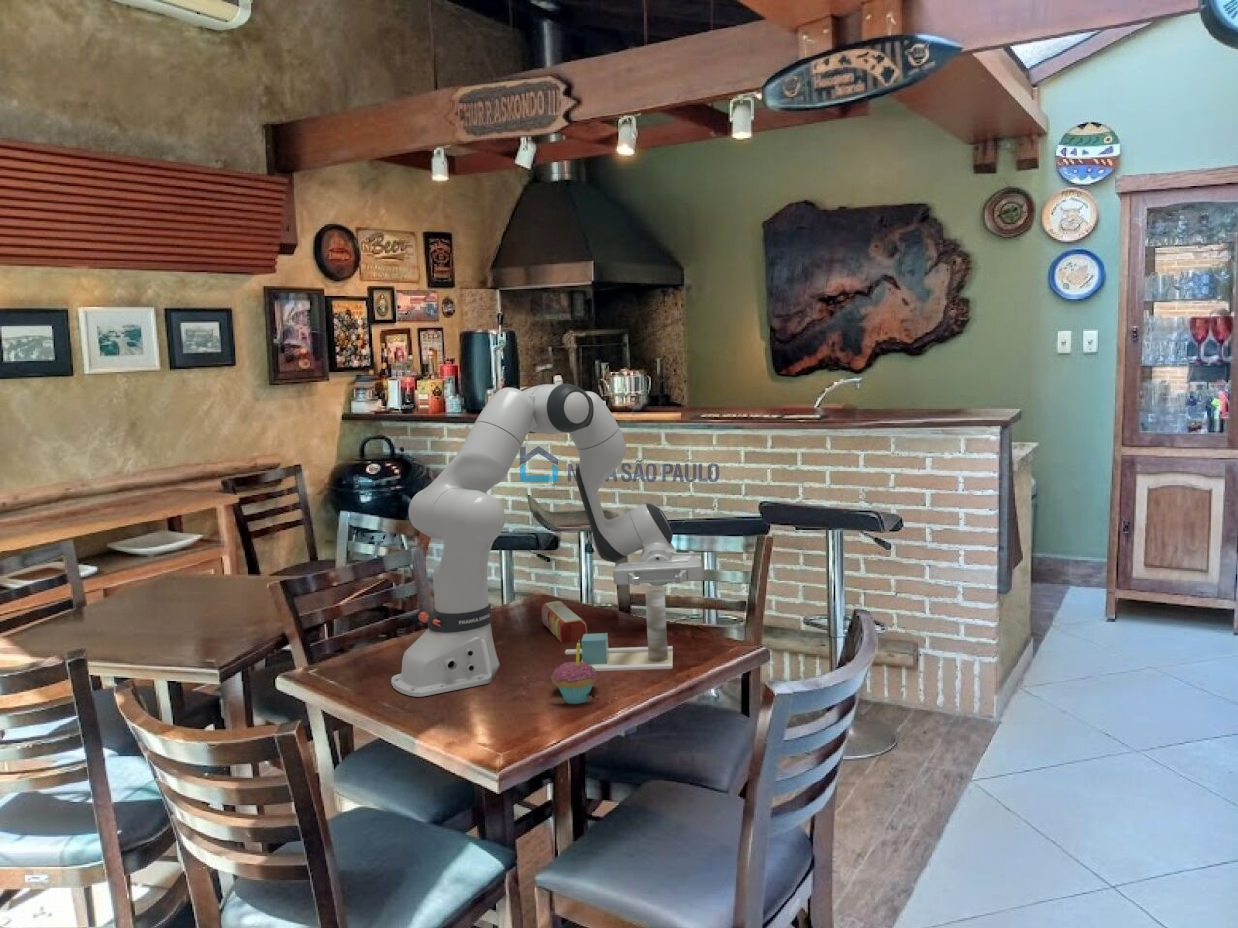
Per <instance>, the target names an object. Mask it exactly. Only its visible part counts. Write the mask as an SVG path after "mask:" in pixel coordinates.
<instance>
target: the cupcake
mask: <svg viewBox="0 0 1238 928" xmlns="http://www.w3.org/2000/svg"><path fill="white" fill-rule="evenodd" d="M575 649H576V654H575V661H568V662H563V663H562V664H560V665H559V666H558V667H556V668H555V669H554V670H553V672H552V674H551V676H550V679H551V682H552V684H553V685H554V686H555V687H557V688H558V690H559V692H560V694H561V696H562V697H561V698H562V700H563V701H564V703H566V704H570V705H578V704H583V703H585V702H587V701H588V700H589V699H590V692H591V691H592V688H593V686H594V684H595V682H596V681H597V676H598V675H597V671H595V669H594V668H593V667H592V666H591V665H590V664H586V663H585V662H581V661H580V649H581V643H580V640H579V641H577V643H576V648H575Z"/></svg>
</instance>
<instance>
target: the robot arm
mask: <svg viewBox="0 0 1238 928" xmlns="http://www.w3.org/2000/svg"><path fill="white" fill-rule="evenodd" d="M564 433H565V434H569V436H570V437H571V440H572V441H573V443H574V446H575V447H576V450H577V452H578V456H579V465H577V467H576V468H575V479H576V484H577V488H578V491H579V492H578V493H579V494H580V497H581V498H580V500H581V501H582V502H581V503H582V505H583V508H584V512H585V514H586V517H587V520H588V523H589V527H590V530H591V533H592V541H593V546H594V550H595V551H596V552H597V554H598V556H599V557H600V559H601V560H604V561H606V562H609V563H614V564H615V563H618V562H619V563H618V564H616V565H615V566H614V568H613V569H612V576H613V584H614V585H617V586H619V585H622V586H623V585H624V586H625V585H632V586H640V585H641V584H644V585H645V584H648V585H651V586H654V587H663V586H666V585H668V584H673V583H675V584H682V583H683V582H700V581H702V580H703V579H704V577H703V575H704V574H703V564H702V562H701V560H700V558H698V557H697V556H696V554H695V551H692V550H681V549H675V547H674V544H673V543H672V542H673V535H674V534H673V530H672V527H671V525H670V523H669V520H668V518H667V516H666V514H665V513H664V512H663V511H662V509H661V508H660V507H658V506H656V505H655V504H652V503H647V502H646V503H644V504H642V505H640V506H638V507H635V508H632V509H631V510H629V511H627V512H625V513H623V514H621V515H618V516H615V517H614V518H611V519H607V518H606V517H605V514H604V511H603V508H602V504H601V501H600V498H599V494H598V493H599V489H600V488H601V487H602V485H603V484H604V483H605V482H606V480H608V478H609V477H610V476H611V475H612V474H613V473H614V472H615V471H616V470H618V468H619V467H620V466H621V464H622V462H623V460H624V458H625V456H626V449H627V443H626V441H625V438H624V435H623V432H622V430H621V428H620V426H619V424H618V422H617V421H616V419H615V417H614V415H613V414H612V412H611V411H610V409H609V407H608V406H607V405H606V403H605V402H604V401H603V399H602V398H601V397H600V395H599V394H597V393H596V392H593V391H589V390H588V391H587V390H586V391H585V390H584V389H583V388H581V387H579V386H577V385H574V384H571V383H562V384H556V383H555V384H550V383H545V384H544V383H543V384H539V385H535V386H527V387H524V388H522V389H518V388H515V387H509V386H508V387H503V388H500V389H499V390H497V391H496V392H495V393H494V394H493V396H492V397H491V398H490V399H489V401H488V402H487V403H486V405H485V406H484V408H483V409H482V410H481V412H480V414H478V417H477V418H476V420H475V422H474V423H473V425H472V427H471V428H470V431H469V433H468V434H467V436H466V438H465V440H464V442H463V443H462V444H461V447H460V449H459V450H458V452H457V453H456V454H455V456H454V457H453V458H452V460H451V461H450V462H449V463H448V465H447V466H446V467H445V468H444V469H443V470H442V471H441V473H439V475H438V476H436V478H435V479H434V480H433V481H432V482H431V483H429V484H428V486H426V487H425V488H423V489H422V490H420V491H417V493H416V494H414V496H413V497H412V499H411V501H410V503H409V506H408V518H409V521H410V523H411V524H412V527H413V528H415V529H416V530H417V531H419V532H420V533H421V534H424V535H425V536H427V537H429V538H431V539H438V540H442V542H443V549H442V555H441V559H440V561H439V564H438V565H436V567H435V568H434V569H433V572H432V584H433V585H432V587H433V598H434V599H433V600H434V609H433V610H432V612H431V613H430V614H429V612H426V611H421V612H419V614H418V617H417V618H418V620H419V622H422V623H425V624H426V623H427V627H428V628H427V629H426V630H425V631H424V632H423V633H422V634H421V635H420V636H419V637H418V638H417V639H416V640H415V641H414V642H413V643H412V644H411V645H410V646H409V647H408V648H407V649H406V650H405V651H404V653H403V656H402V662H401V672H400V673H398V674H395V675H393V676H392V677H391V681H390V682H391V683H390V685H391V684H392V685H391V687H392V686H393V687H392V688H393V689H395V691H397V692H399V693H401V694H403V695H407V696H410V697H418V698H422V697H426V696H432V695H437V694H442V693H448V692H451V691H452V692H453V691H457V690H462V689H467V688H473V687H477V686H482V685H487V684H490V683H491V682H492V680H493V678H494V676H495V675H496V674H497V671H498V669H499V668H500V667H501V664H500V661H499V658H498V655H497V650H496V647H495V643H494V637H493V632H492V629H493V613H492V606H491V605H492V604H491V603H490V601H489V587H488V585H489V584H488V566H489V565H488V564H489V560H490V559H489V558H490V554H491V550H492V546H493V544H494V541H495V540H496V539H497V538H498V537H499V536H500V535H501V533H502V531H503V529H504V527H505V523H506V513H505V509H504V507H503V504H502V502H500V501H499V500H498V499H497V498H496V497H495V496H492V495H490V494H489V493H487V492H488V491H490V490H491V489H492V488H493V487H495V486H496V485H498V484H500V483H501V482H502V481H503V480H504V479H505V478H506V477H507V474H508V473H509V471H510V469H511V468H512V465H513V464H514V462H515V459H516V458H517V456H518V454H519V452H520V450H521V448H522V446H523V444H524V442H525V440H526V437H527V435H528V434H544V435H545V434H546V435H556V434H557V435H558V434H564ZM641 550H642V551H641ZM638 551H641V554H640V560H639V561H633V562H632V561H631V562H629V561H628V562H621V563H620V561H622V560H623V559H625V558H627V557H628V556H630V555H632V554H634V553H636V552H638Z"/></svg>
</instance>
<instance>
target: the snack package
mask: <svg viewBox="0 0 1238 928" xmlns="http://www.w3.org/2000/svg"><path fill="white" fill-rule="evenodd" d="M541 620H542V623H543V625H544V626H546V627H547V628H548V629H549V631H550V633H552V635H554V636H555V637H556V638H557V639H558V640H559V643H561V644H563V643H564V644H566V643H567V644H568V643H571V642H572V643H573V642H578V641H579V640H580V641H582V638H583V635H584V634H588V625H587V622H586V621H585V620H584V619H583V618H582V617H580V616H579V615H577V614H576V613H575V612H574V611H573V610H572V609H570V608H569V607H568V606H567V605H566V604H565V603H564V602H563V601H560V600H554V601H553V600H552V601H550V602H545V603H543V604H542V606H541ZM580 641H579V642H580Z"/></svg>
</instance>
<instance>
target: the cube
mask: <svg viewBox="0 0 1238 928" xmlns="http://www.w3.org/2000/svg"><path fill="white" fill-rule="evenodd" d="M608 634H609V633H608V632H604V633H602V632H601V633H587V634H584V635H583V638H582V640H581V649H582V654H581V657H582V658H581V660H582V659H583V662H585V663H586V664H607V662H608V658H609V651H608V648H609V635H608Z"/></svg>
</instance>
